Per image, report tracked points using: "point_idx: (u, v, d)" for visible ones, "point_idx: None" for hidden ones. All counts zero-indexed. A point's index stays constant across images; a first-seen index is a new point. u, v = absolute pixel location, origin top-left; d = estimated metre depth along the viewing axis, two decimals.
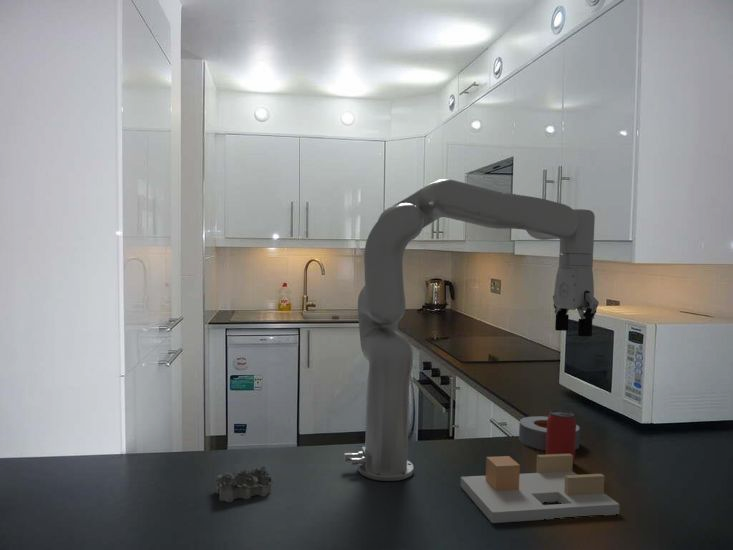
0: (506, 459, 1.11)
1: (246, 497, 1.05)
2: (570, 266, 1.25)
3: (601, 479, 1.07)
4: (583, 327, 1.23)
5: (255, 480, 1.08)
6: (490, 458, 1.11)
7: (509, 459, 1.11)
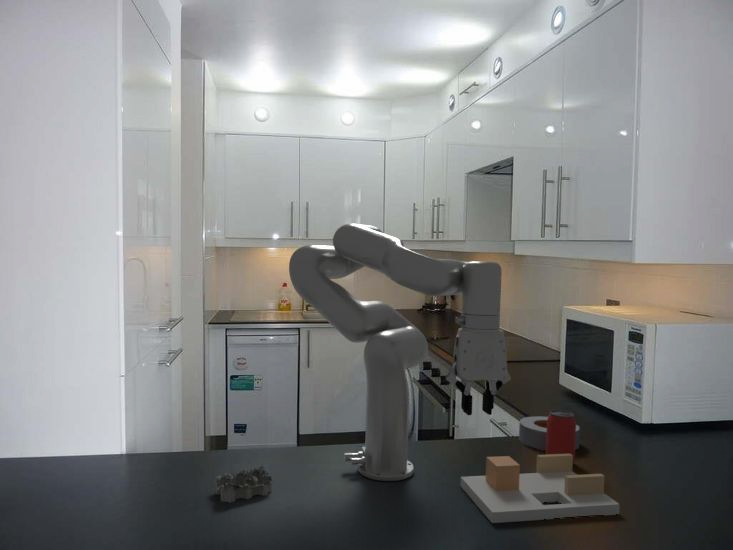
0: (506, 459, 1.11)
1: (248, 497, 1.05)
2: (497, 330, 1.06)
3: (601, 479, 1.07)
4: None
5: (255, 479, 1.08)
6: (490, 458, 1.11)
7: (509, 459, 1.11)
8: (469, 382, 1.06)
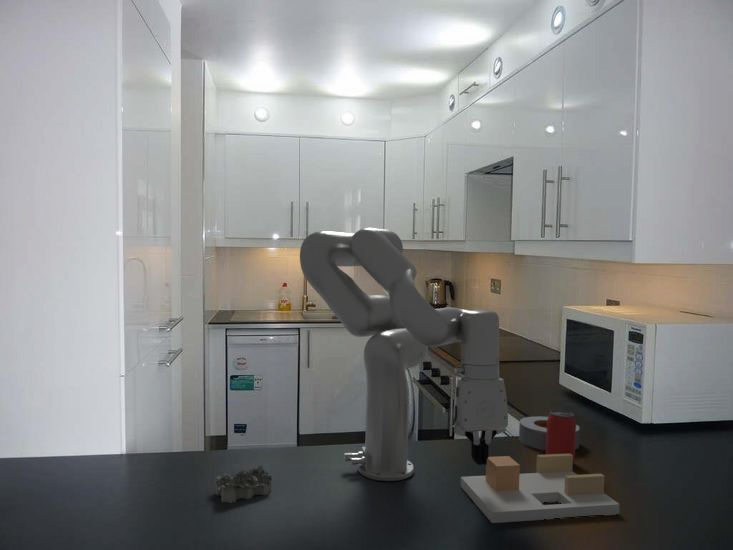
0: (506, 459, 1.11)
1: (248, 497, 1.05)
2: (497, 379, 1.06)
3: (601, 479, 1.07)
4: None
5: (255, 479, 1.08)
6: (490, 458, 1.11)
7: (509, 459, 1.11)
8: (476, 432, 1.06)
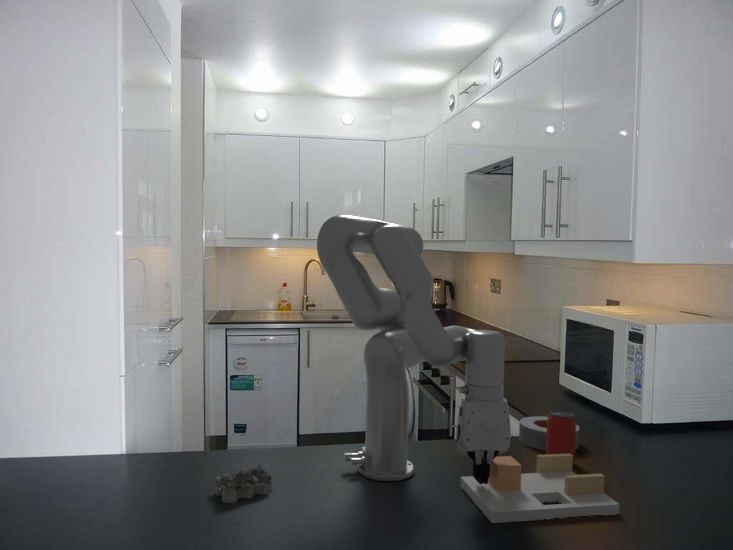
0: (508, 459, 1.11)
1: (249, 497, 1.05)
2: (500, 400, 1.06)
3: (601, 479, 1.07)
4: (487, 472, 1.08)
5: (255, 479, 1.08)
6: None
7: (511, 459, 1.11)
8: (478, 451, 1.07)
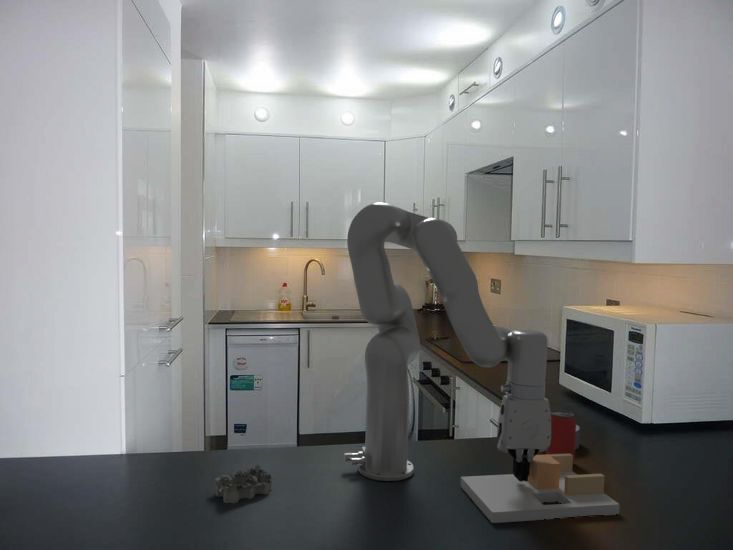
0: (546, 458, 1.12)
1: (250, 496, 1.05)
2: (542, 400, 1.08)
3: (601, 479, 1.07)
4: None
5: (255, 479, 1.09)
6: None
7: (549, 458, 1.12)
8: (519, 449, 1.09)
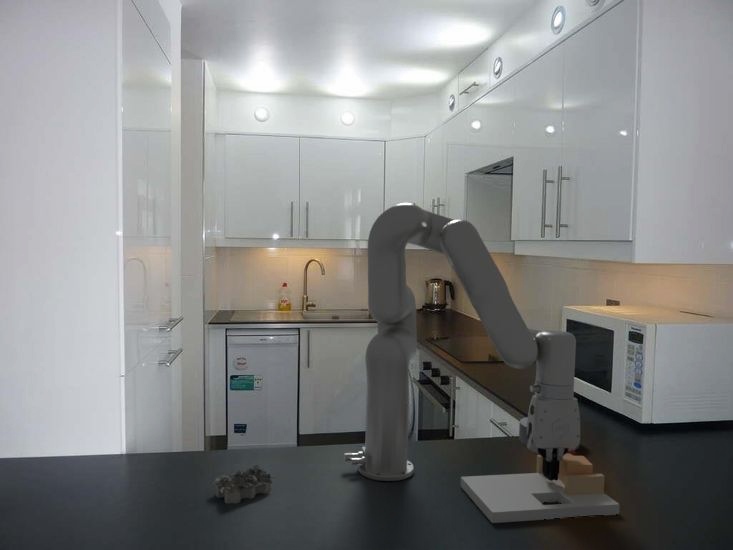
0: (580, 459, 1.12)
1: (252, 496, 1.05)
2: (572, 399, 1.09)
3: (601, 479, 1.07)
4: None
5: (255, 478, 1.09)
6: (563, 456, 1.13)
7: (583, 459, 1.12)
8: (548, 449, 1.10)
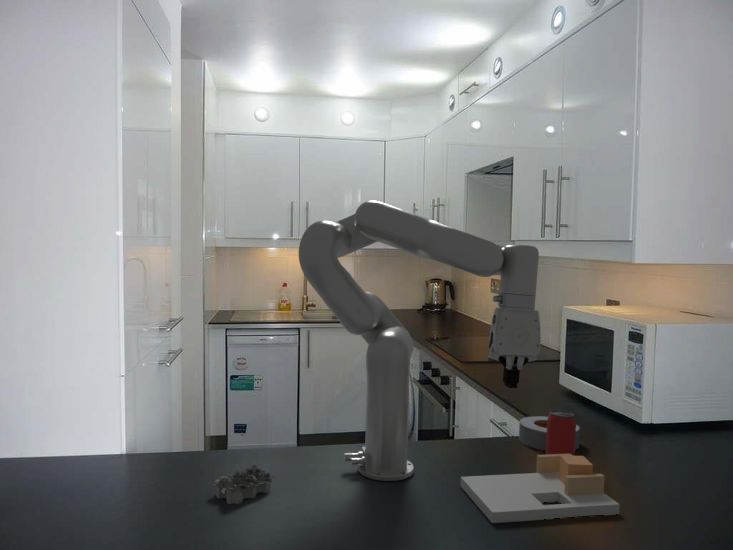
0: (580, 459, 1.12)
1: (253, 496, 1.05)
2: (532, 309, 1.13)
3: (601, 479, 1.07)
4: None
5: (254, 478, 1.09)
6: (563, 456, 1.13)
7: (583, 459, 1.12)
8: (509, 357, 1.14)
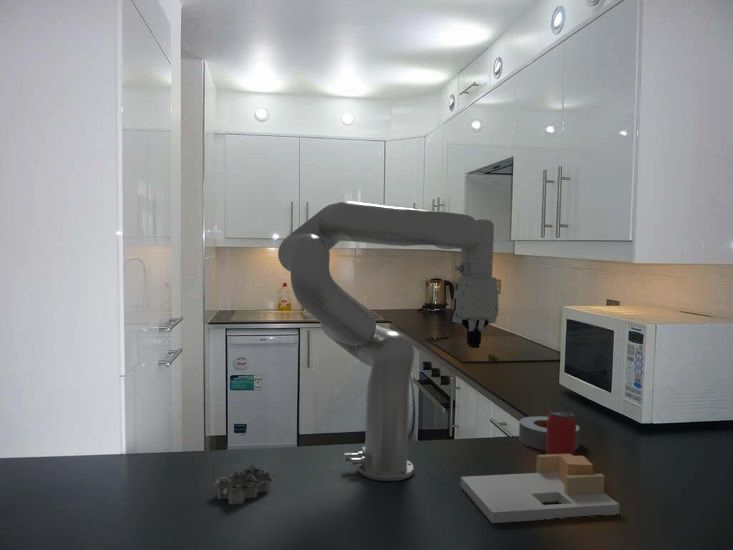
0: (580, 459, 1.12)
1: (254, 495, 1.06)
2: (490, 276, 1.26)
3: (601, 479, 1.07)
4: None
5: (254, 478, 1.09)
6: (563, 456, 1.13)
7: (583, 459, 1.12)
8: (471, 320, 1.27)
